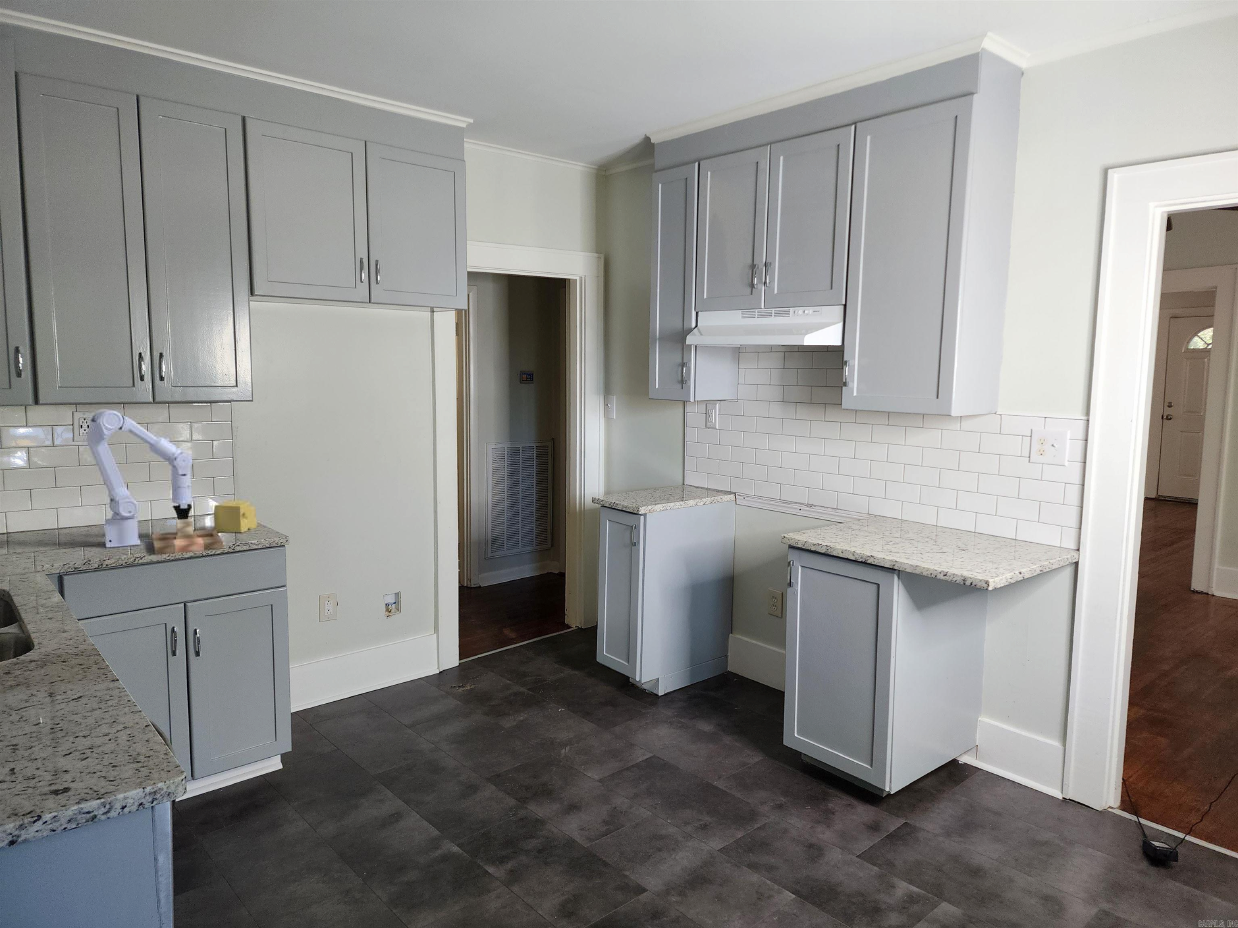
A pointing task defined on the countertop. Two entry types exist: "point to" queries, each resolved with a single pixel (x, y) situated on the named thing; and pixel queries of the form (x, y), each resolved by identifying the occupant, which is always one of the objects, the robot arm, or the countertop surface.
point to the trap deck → (186, 542)
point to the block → (184, 527)
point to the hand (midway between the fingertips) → (183, 526)
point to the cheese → (234, 516)
